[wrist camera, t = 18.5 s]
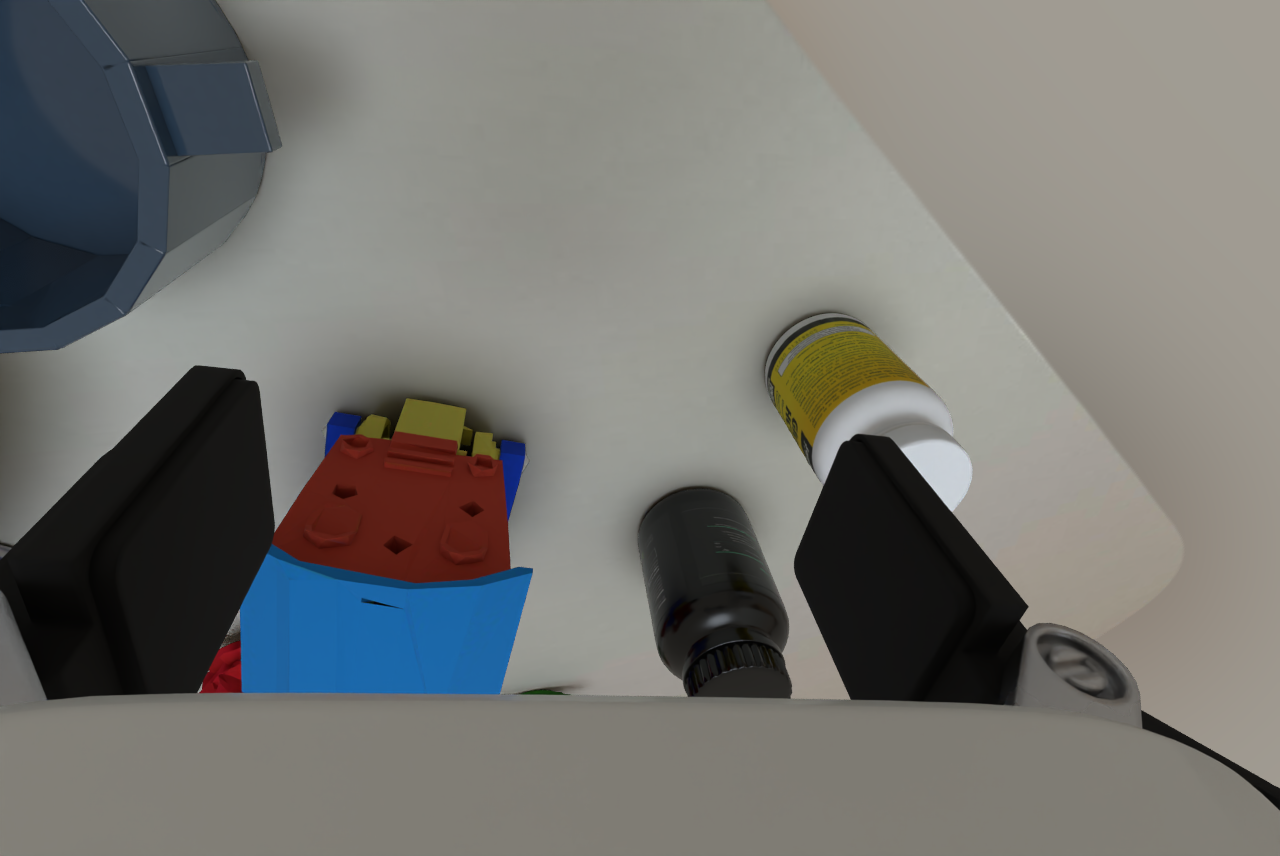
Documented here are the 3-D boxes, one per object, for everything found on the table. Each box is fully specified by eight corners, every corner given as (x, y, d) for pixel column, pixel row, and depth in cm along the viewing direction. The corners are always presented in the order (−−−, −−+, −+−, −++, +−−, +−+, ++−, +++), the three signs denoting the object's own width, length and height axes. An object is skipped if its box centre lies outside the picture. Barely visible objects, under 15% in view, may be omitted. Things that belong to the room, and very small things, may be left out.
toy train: (541, 401, 35) (541, 625, 22) (490, 615, 42) (468, 872, 30) (331, 362, 32) (194, 590, 20) (317, 597, 40) (213, 870, 27)
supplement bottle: (686, 587, 43) (731, 762, 33) (613, 534, 40) (637, 710, 30) (768, 525, 41) (842, 691, 31) (698, 464, 38) (755, 628, 28)
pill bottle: (737, 374, 35) (808, 505, 26) (823, 285, 33) (933, 392, 24) (813, 432, 38) (902, 569, 29) (897, 353, 36) (1022, 473, 27)
